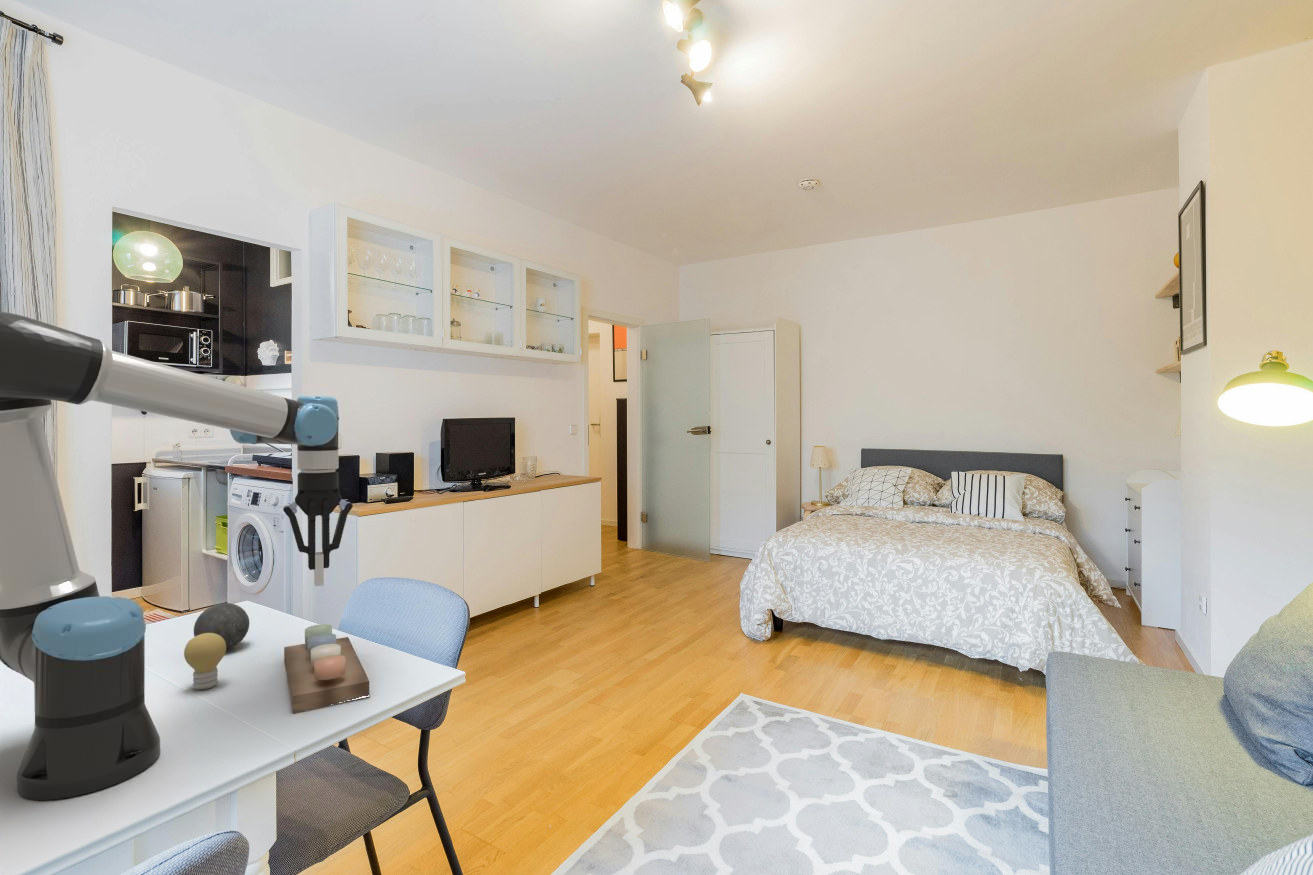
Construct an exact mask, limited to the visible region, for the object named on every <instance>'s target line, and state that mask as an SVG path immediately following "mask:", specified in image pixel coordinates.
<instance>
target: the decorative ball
mask: <svg viewBox="0 0 1313 875" xmlns="http://www.w3.org/2000/svg"><path fill="white" fill-rule="evenodd" d="M249 629H250V618H249V615H248V613H247V611H246V610H245V609H244V608H242V606H240V605H238V604H234V603H231V602H230V603H228V602H223V603H222V602H221V603H218V604H214V605H210V606H209V607H208V608H206V609H205V610H204V611H203V612H202V613H200V614H199V616H198V617H197V618H196V621H195V623H194V625H193V638H194V637H195V636H197V635H200V634H204V633H214V634H218V635H220V636H221V637H222V638H223V639H224V640H225V643H226V651H227V650H230V649H232V648H233V647H235V646H237V645H239V643H242V641H243V640H244V638H246V635H248V634H247V633H248V632H249Z"/></svg>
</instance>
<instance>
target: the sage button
mask: <svg viewBox="0 0 1313 875" xmlns="http://www.w3.org/2000/svg"><path fill="white" fill-rule="evenodd" d="M319 634H333V625H331V624H327V623H322V624H314V625H311V626H308V627H306V628H304V644H308V638H310V637H312V636H315V635H319Z"/></svg>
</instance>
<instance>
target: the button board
mask: <svg viewBox="0 0 1313 875" xmlns="http://www.w3.org/2000/svg"><path fill="white" fill-rule="evenodd" d="M336 644H338V645H340V646H341V655H342V656H345V674H344V675H342V676H340V677H338V678H334V679H329V680H318V679H315V678H314V666H311V655H309V654H308V644H306V643H302V644H300V643H299V644H296V645H295V644H294V645H288V646H284V650H283V651H284V652H283V654H284V656H283V660H284V661H283V663H284V668H285V669H284V670H285V674H286V680H287V685H288V686H287V687H288V690H289V691H288V692H289V697H290V698H289V699H290V704H291V709H292V710H291V711H292V714H298V713H301V711H303V712H307V711H306V710H308V711H311V709H313V710H316V709H315V708H317V709H321V708H320V707H322V708H326V707H325V706H327V707H330V706H329V705H331V704H336V705H338V704H337V703H339V702H344V701H347V700H352V699H356V698H359V697H362V696H368V695H369V696H370V679H369V677H368V675H367V673H366V670H365V669H364V667H363V665H362V663H361V660H360V659H359V657H358V654H357V652H356V651H355V648H354V647H353V644H352V642H351V640H350V638H349V636H345V637H339V638H336ZM297 712H298V713H297Z"/></svg>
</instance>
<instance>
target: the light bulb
mask: <svg viewBox="0 0 1313 875" xmlns="http://www.w3.org/2000/svg"><path fill="white" fill-rule="evenodd" d="M226 651H227V650H226V643H225V640H224V639H223V638H222V637H221V636H220V635H218V634H214V633H204V634H200V635H197V636H195V637H194V636H193V637H192V638H190V639H189V640H188V642H187V643H186V644H185V647H184V650H183V657H184V659H185V661H186V663H187V665H189V666H190V667H191V668H192V669H193V673H192V676H193V679H192V682H193V684H192V685H193V686H192V687H193V688H194V689H196V690H200V691H201V690H207V689H210V688H213V687H214V686H216V685H217V684H218V681H219V679H218V676H219V675H218V671H219V670H218V667H217V666H218V665H219V664H220V662H221V661H222V660H223V658H224V656H225V654H226Z"/></svg>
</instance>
